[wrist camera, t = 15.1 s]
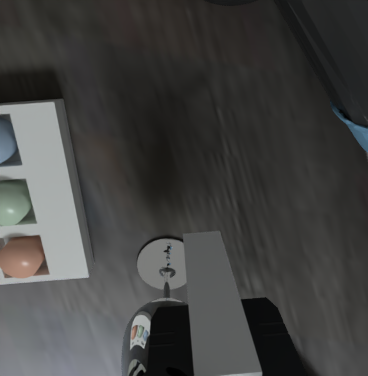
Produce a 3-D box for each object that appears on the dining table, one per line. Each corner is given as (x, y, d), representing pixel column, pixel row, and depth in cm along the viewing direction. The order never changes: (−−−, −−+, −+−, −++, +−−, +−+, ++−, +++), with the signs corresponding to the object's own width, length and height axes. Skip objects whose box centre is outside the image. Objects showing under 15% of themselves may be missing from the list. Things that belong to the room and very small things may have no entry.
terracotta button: (5, 233, 39) (-7, 245, 36) (43, 230, 39) (33, 242, 36) (14, 265, 40) (3, 279, 38) (51, 262, 40) (42, 276, 38)
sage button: (-11, 179, 36) (-25, 188, 34) (30, 176, 36) (19, 185, 34) (-1, 216, 38) (-13, 227, 35) (38, 213, 38) (29, 224, 35)
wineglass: (150, 227, 40) (133, 370, 22) (207, 249, 42) (239, 401, 23) (126, 277, 43) (94, 445, 24) (182, 296, 44) (192, 469, 25)
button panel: (-73, 108, 34) (-96, 112, 31) (63, 98, 35) (53, 101, 32) (-19, 271, 42) (-33, 288, 39) (94, 262, 42) (88, 278, 39)
